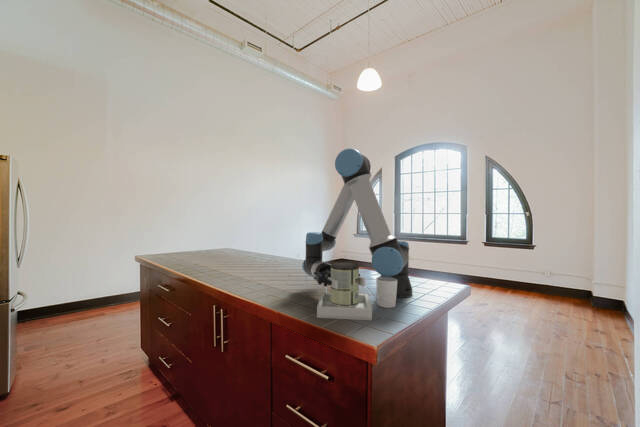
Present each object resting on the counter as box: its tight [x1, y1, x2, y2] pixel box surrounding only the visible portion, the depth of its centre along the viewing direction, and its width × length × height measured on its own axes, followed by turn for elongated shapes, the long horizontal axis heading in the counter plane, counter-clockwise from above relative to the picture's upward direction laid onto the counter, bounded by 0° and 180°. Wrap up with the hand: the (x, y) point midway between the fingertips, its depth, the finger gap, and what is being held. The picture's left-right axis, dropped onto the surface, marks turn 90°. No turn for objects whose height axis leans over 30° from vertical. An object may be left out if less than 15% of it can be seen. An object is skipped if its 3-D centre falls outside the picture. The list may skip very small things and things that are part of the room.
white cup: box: [375, 276, 397, 309], centre depth 110 cm, size 8×8×10 cm
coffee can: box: [329, 261, 360, 308], centre depth 104 cm, size 10×10×14 cm
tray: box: [316, 292, 373, 321], centre depth 104 cm, size 18×18×4 cm
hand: (350, 283), depth 100 cm, fingers closed on coffee can, 10 cm apart
